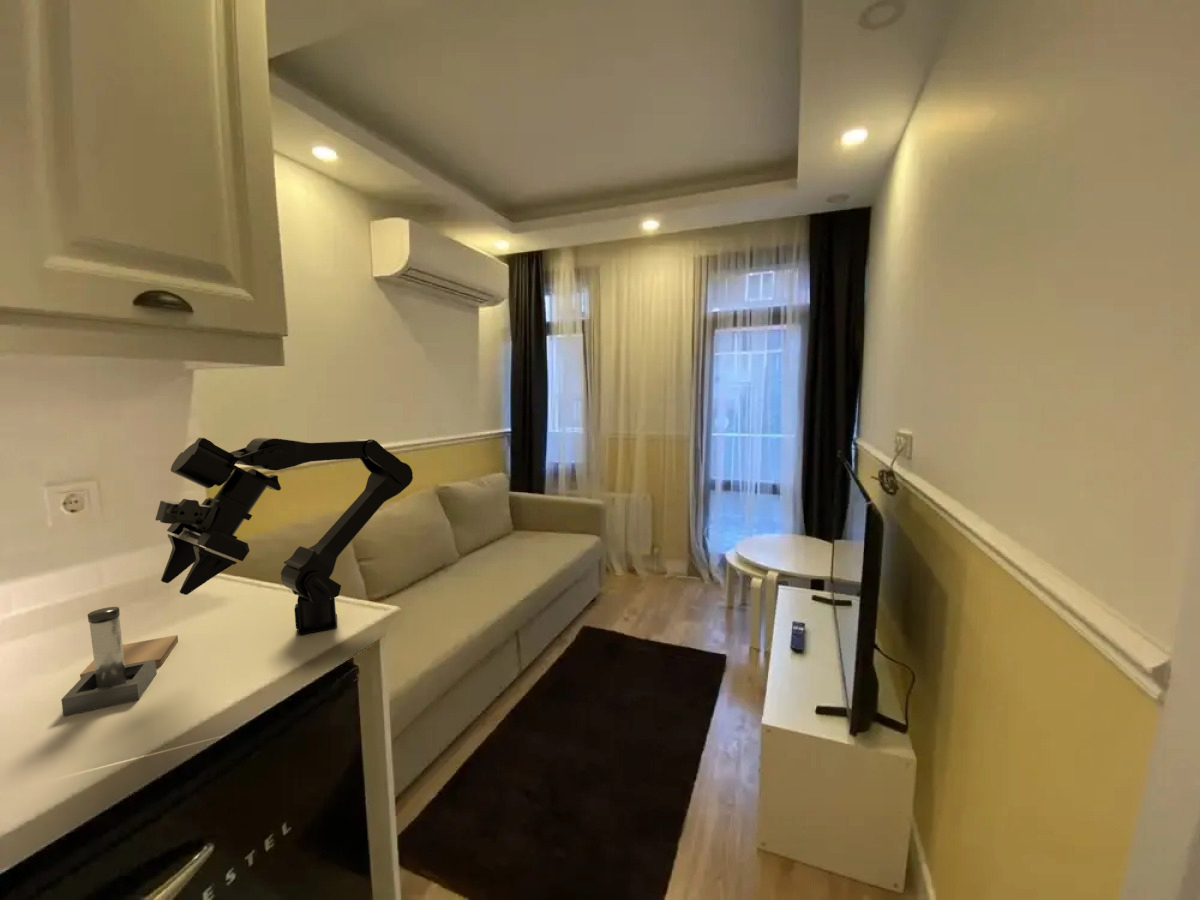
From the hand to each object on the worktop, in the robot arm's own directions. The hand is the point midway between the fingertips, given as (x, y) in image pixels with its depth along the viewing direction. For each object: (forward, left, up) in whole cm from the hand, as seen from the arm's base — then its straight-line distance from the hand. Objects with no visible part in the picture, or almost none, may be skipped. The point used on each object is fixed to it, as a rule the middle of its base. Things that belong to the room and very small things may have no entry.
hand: (173, 587), depth 81 cm
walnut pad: (+9, -10, -14) cm, 20 cm away
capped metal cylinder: (+8, +2, -14) cm, 17 cm away
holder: (+8, +2, -14) cm, 17 cm away
